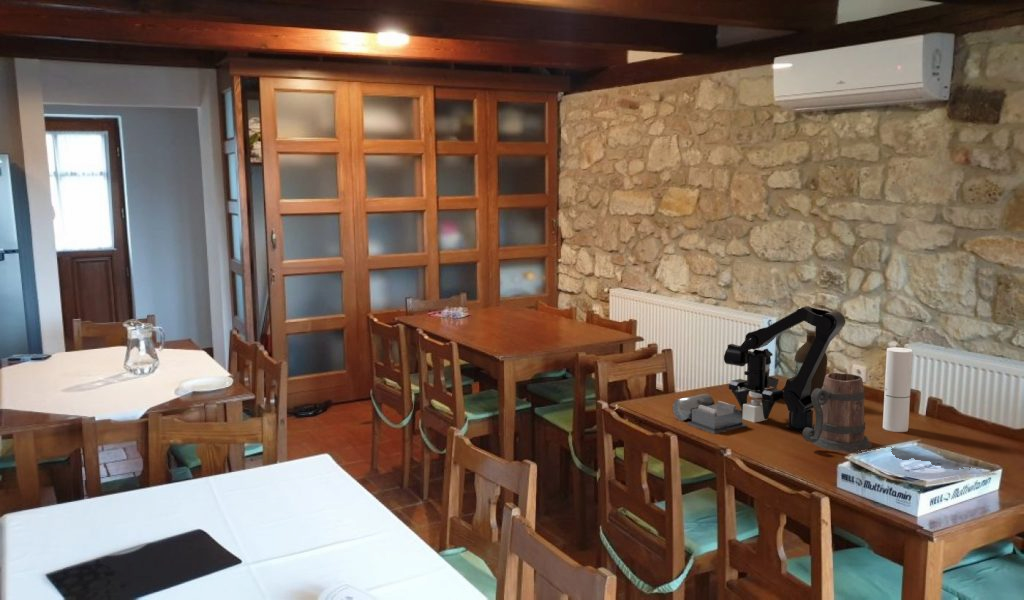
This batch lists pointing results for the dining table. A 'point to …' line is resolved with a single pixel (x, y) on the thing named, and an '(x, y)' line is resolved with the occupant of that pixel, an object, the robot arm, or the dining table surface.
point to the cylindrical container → (897, 389)
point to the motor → (708, 414)
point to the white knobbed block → (753, 411)
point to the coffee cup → (757, 395)
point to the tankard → (839, 414)
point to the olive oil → (800, 357)
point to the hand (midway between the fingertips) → (755, 415)
